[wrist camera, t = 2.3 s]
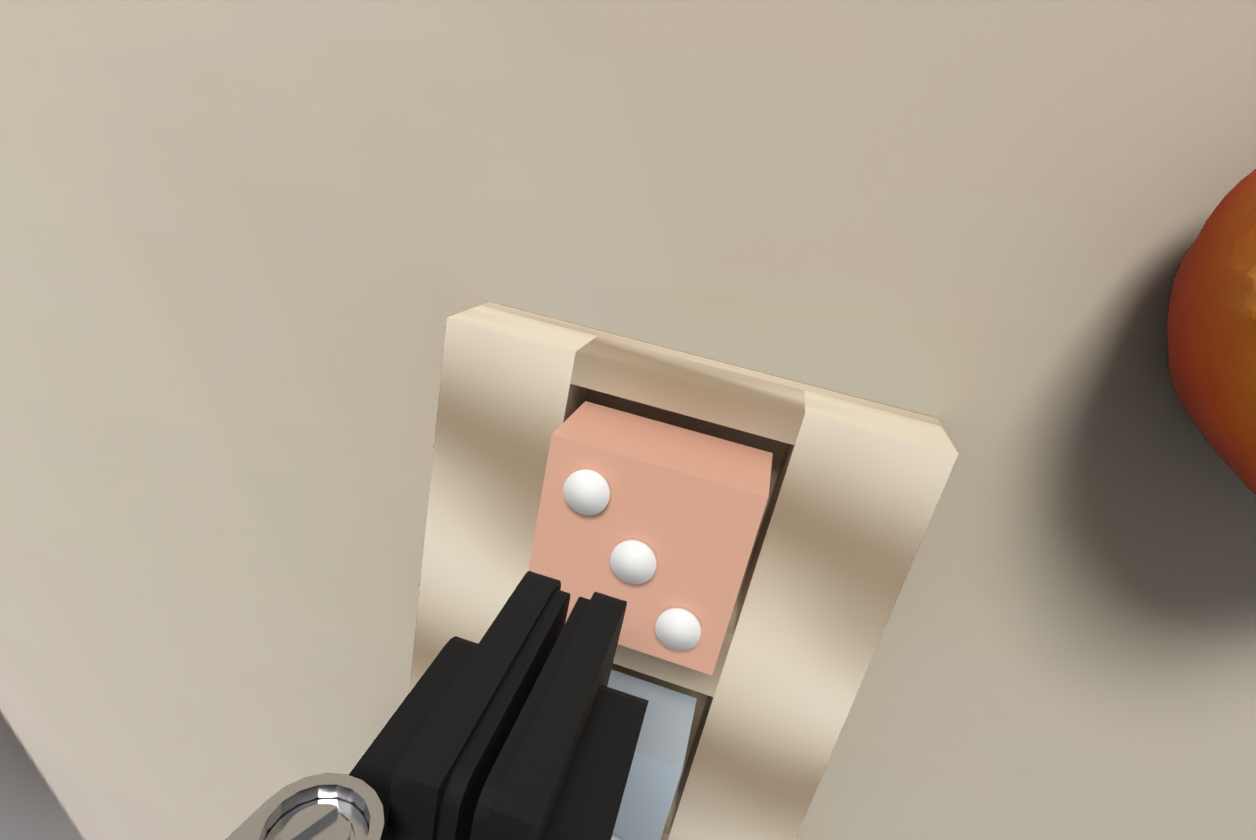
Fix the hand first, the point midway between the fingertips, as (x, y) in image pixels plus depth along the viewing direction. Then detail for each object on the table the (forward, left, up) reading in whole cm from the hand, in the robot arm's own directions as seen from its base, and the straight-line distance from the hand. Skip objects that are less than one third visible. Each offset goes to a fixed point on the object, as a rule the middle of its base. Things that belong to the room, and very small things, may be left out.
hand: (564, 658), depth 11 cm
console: (-8, 0, -9) cm, 12 cm away
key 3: (0, 0, -6) cm, 6 cm away
